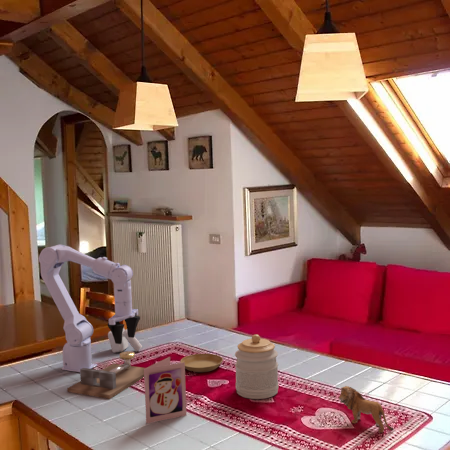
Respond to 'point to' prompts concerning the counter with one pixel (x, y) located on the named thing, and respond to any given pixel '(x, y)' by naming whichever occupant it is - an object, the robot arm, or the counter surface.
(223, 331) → the counter surface
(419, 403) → the counter surface
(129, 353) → the brass knob with shaft
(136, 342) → the wall hook
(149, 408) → the greeting card
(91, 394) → the wooden board
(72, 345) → the robot arm
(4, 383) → the counter surface
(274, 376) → the jar
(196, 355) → the plant saucer
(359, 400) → the lion figurine
